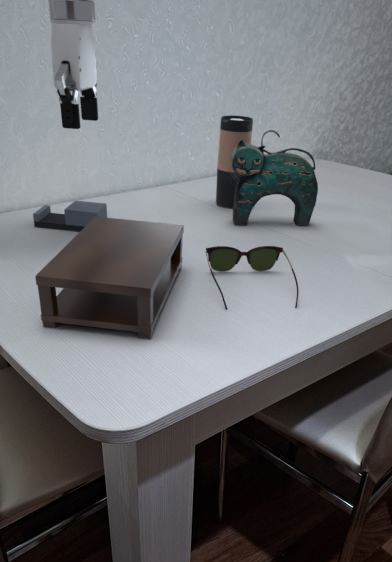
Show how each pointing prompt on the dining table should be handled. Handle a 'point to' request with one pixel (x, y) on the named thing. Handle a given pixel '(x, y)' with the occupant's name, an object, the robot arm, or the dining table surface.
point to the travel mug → (230, 155)
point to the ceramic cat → (273, 180)
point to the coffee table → (112, 275)
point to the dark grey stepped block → (70, 216)
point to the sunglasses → (256, 257)
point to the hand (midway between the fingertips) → (81, 124)
